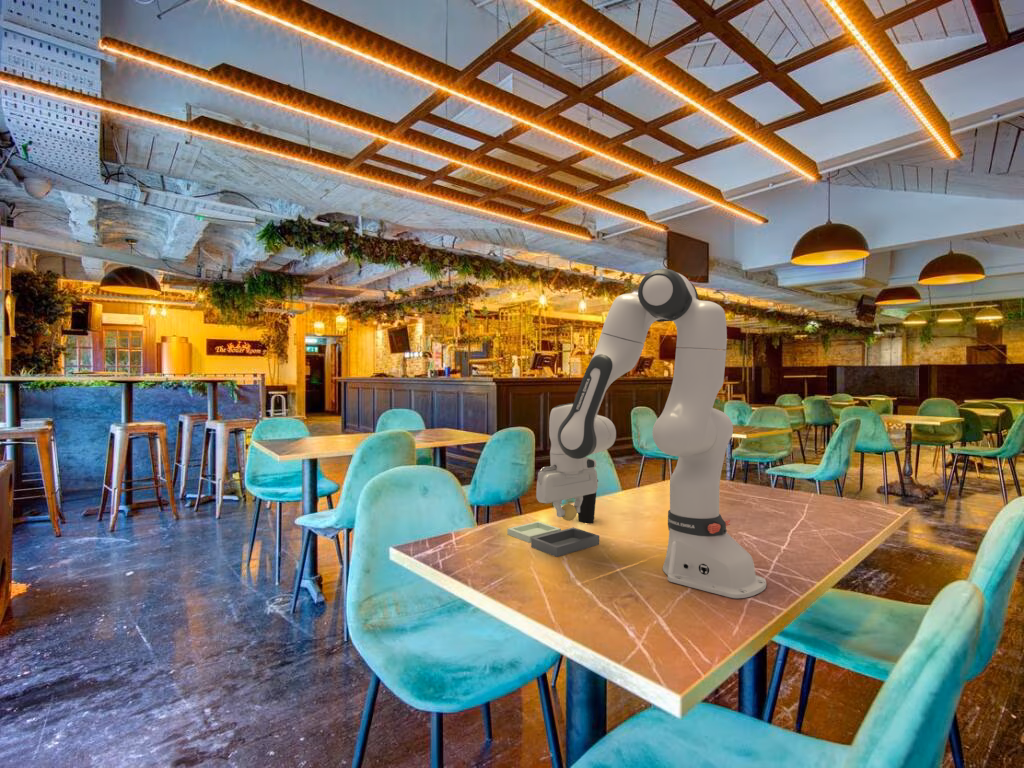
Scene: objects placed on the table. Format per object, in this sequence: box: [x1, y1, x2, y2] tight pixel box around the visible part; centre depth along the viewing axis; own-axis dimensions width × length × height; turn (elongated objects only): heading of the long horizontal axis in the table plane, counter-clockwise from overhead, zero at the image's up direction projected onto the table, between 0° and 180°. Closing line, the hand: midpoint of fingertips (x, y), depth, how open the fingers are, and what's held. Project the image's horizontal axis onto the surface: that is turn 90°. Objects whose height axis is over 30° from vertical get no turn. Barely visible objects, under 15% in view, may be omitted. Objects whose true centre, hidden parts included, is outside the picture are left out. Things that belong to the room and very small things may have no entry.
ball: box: [561, 503, 578, 522], centre depth 139 cm, size 4×4×4 cm
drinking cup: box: [577, 478, 599, 524], centre depth 165 cm, size 8×8×20 cm
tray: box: [506, 520, 562, 544], centre depth 150 cm, size 10×12×2 cm
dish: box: [530, 526, 600, 558], centre depth 139 cm, size 10×16×3 cm, turn 129°
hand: (568, 514), depth 139 cm, fingers closed on ball, 4 cm apart
